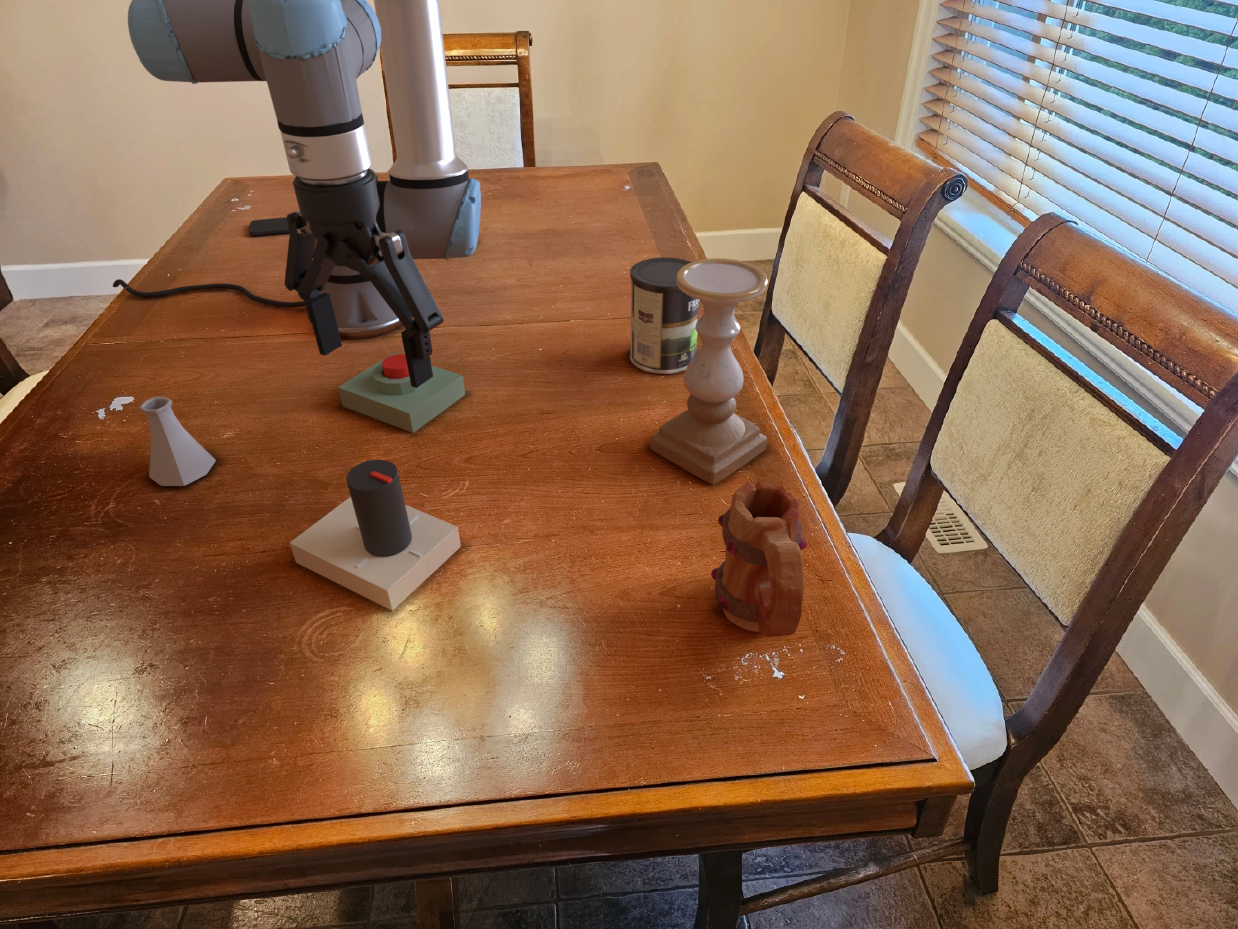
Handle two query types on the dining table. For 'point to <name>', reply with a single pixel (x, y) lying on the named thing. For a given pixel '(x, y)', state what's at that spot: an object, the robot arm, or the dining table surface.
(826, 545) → the dining table surface
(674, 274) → the coffee can
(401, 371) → the power button
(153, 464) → the flask
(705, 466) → the candle holder
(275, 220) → the phone
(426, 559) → the dial panel
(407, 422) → the block
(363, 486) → the knob
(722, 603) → the mug
